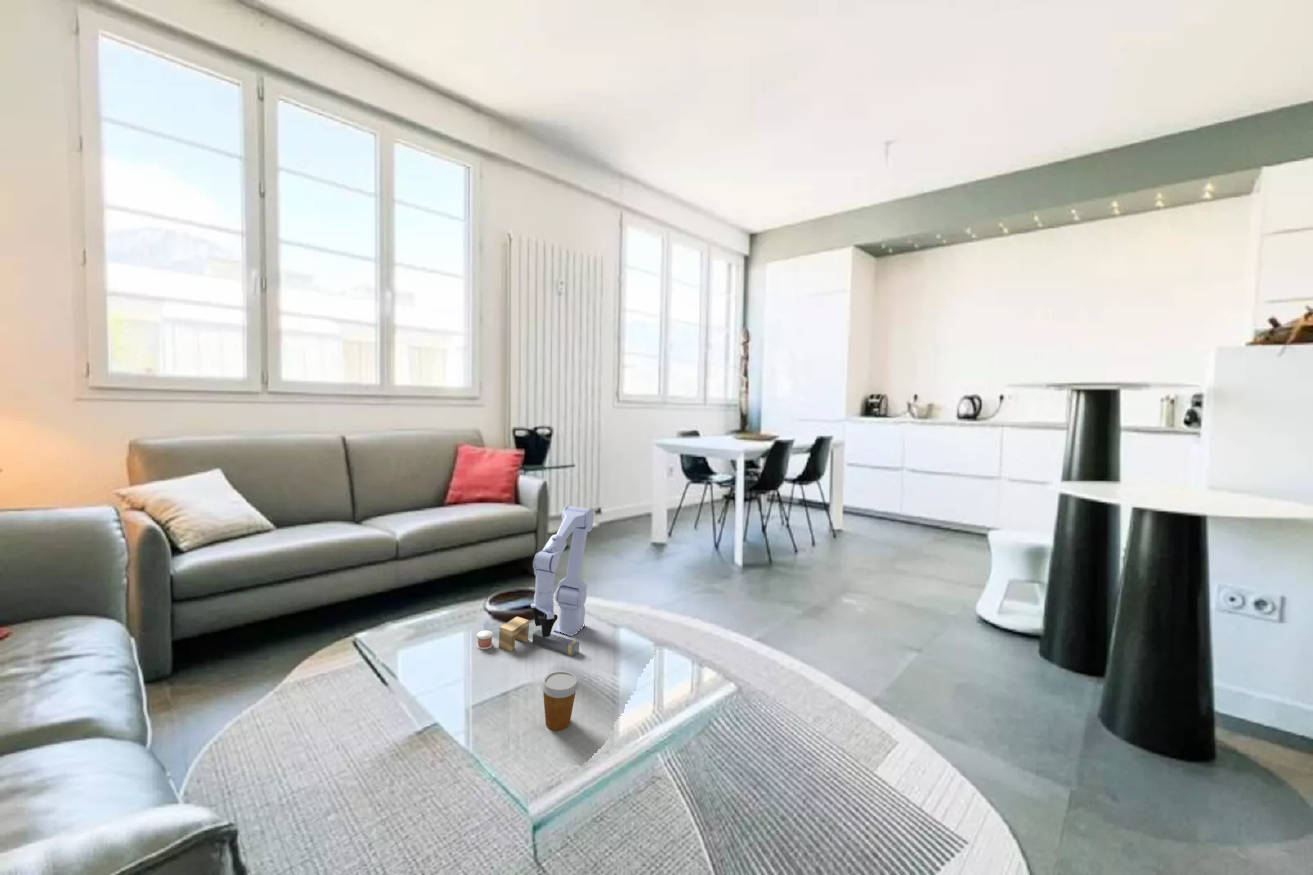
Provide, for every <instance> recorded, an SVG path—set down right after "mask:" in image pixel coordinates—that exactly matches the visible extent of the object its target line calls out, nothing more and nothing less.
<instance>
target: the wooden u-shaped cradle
mask: <svg viewBox="0 0 1313 875" xmlns="http://www.w3.org/2000/svg"><path fill="white" fill-rule="evenodd" d="M529 627H530V620H529V619H527V618H523V617H520V616H515V617H514V618H512V619H510V620H509V621H508V622H506V623H504V624H502V625H501V626H499V632H498V634H499V635H498V636H499V637H498V648H499V649H503V650H506V651H508V652H513V651H514V650H515V648H516V647H515V646H516V640H517V641H520V642H523V643H526V642H527V641H529V635H530V634H529V632H530V628H529Z"/></svg>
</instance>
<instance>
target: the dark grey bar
mask: <svg viewBox="0 0 1313 875" xmlns="http://www.w3.org/2000/svg"><path fill="white" fill-rule="evenodd" d="M531 642H532V644H533V645H536V646H540V647H543V648H546V649H549V650H552V651H555V652H558V653H561V654H564V655H568V656H570V657H575V656H576V655H578V654H579V653H580V642H579V641H577V640H573V639H569V638H566V637H563V636H561V635H556V634H553V633H551V634H550V636H549V637H543V636H542V629H541V630H540V629H538V630H536V631H534V632H533V633H532V641H531Z"/></svg>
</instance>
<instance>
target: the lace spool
mask: <svg viewBox="0 0 1313 875" xmlns="http://www.w3.org/2000/svg"><path fill="white" fill-rule="evenodd" d="M493 636H494V632H493V631H492V630H481V631H478V632H477V633H476V637H477V643H476V648H477V649H478V650H489V649H491V648H492V647H493Z"/></svg>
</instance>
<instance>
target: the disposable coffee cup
mask: <svg viewBox="0 0 1313 875" xmlns="http://www.w3.org/2000/svg"><path fill="white" fill-rule="evenodd" d="M540 686H541V691H542V693H543V707H544V708H543V709H544V717H545V718H544V720H545V725H546V727H547V728H548V729H550V730H552V731H561V730H565V729H567V728H568V727H569V726H570V723H571V718H572V714H573V708H574V702H575V699H576V692H577V690H578V688H579V681H578V680H577V676H576V675H575V674H573V673H571V672H569V671H563V670H561V671H559V670H557V671H554V672H550V673H548V674H547V675H545V677H544V678H543V681H542V682H541V685H540Z"/></svg>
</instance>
